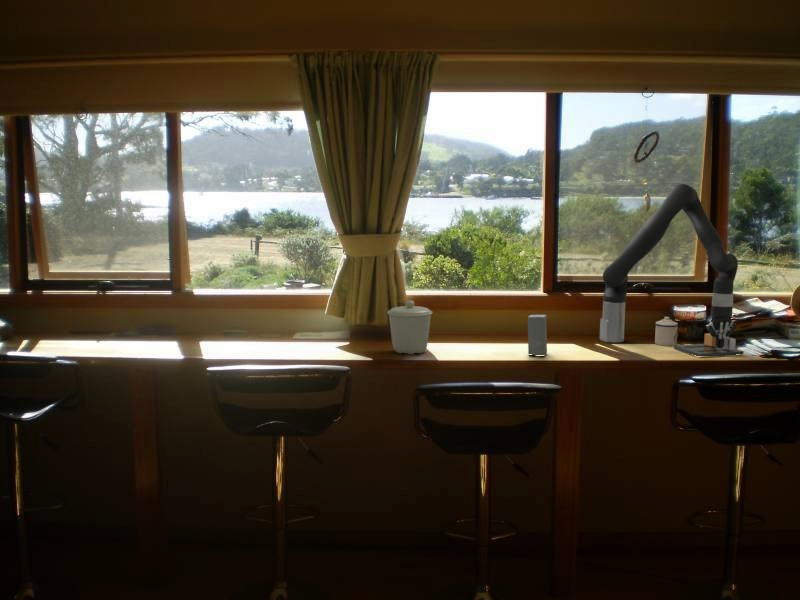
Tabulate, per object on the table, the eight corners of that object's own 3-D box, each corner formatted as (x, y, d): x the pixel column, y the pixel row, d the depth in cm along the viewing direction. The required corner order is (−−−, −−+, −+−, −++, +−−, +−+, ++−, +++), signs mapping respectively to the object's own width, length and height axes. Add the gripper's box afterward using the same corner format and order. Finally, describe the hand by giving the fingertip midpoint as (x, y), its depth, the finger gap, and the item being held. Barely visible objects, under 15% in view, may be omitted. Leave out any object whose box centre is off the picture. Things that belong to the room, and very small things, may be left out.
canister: (387, 347, 292) (387, 297, 289) (431, 347, 292) (431, 297, 289) (387, 357, 274) (387, 303, 271) (433, 356, 274) (433, 303, 271)
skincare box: (544, 357, 272) (545, 317, 270) (526, 356, 275) (526, 316, 273) (547, 353, 280) (548, 314, 278) (529, 351, 283) (530, 313, 280)
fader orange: (711, 346, 284) (712, 335, 283) (704, 344, 288) (704, 333, 288) (717, 346, 284) (718, 335, 283) (709, 343, 289) (710, 332, 288)
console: (699, 357, 271) (699, 353, 271) (673, 348, 288) (673, 344, 288) (744, 355, 276) (744, 351, 275) (716, 346, 292) (716, 342, 292)
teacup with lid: (678, 346, 292) (680, 319, 290) (655, 345, 294) (657, 318, 292) (673, 341, 303) (675, 314, 302) (651, 340, 305) (653, 313, 304)
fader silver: (729, 350, 276) (729, 339, 276) (721, 347, 281) (721, 336, 280) (735, 350, 277) (735, 338, 276) (727, 347, 281) (727, 336, 281)
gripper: (730, 302, 280) (727, 345, 283) (701, 303, 277) (698, 346, 280) (743, 305, 273) (740, 348, 275) (713, 306, 270) (711, 350, 273)
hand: (719, 347), depth 278 cm, fingers closed
